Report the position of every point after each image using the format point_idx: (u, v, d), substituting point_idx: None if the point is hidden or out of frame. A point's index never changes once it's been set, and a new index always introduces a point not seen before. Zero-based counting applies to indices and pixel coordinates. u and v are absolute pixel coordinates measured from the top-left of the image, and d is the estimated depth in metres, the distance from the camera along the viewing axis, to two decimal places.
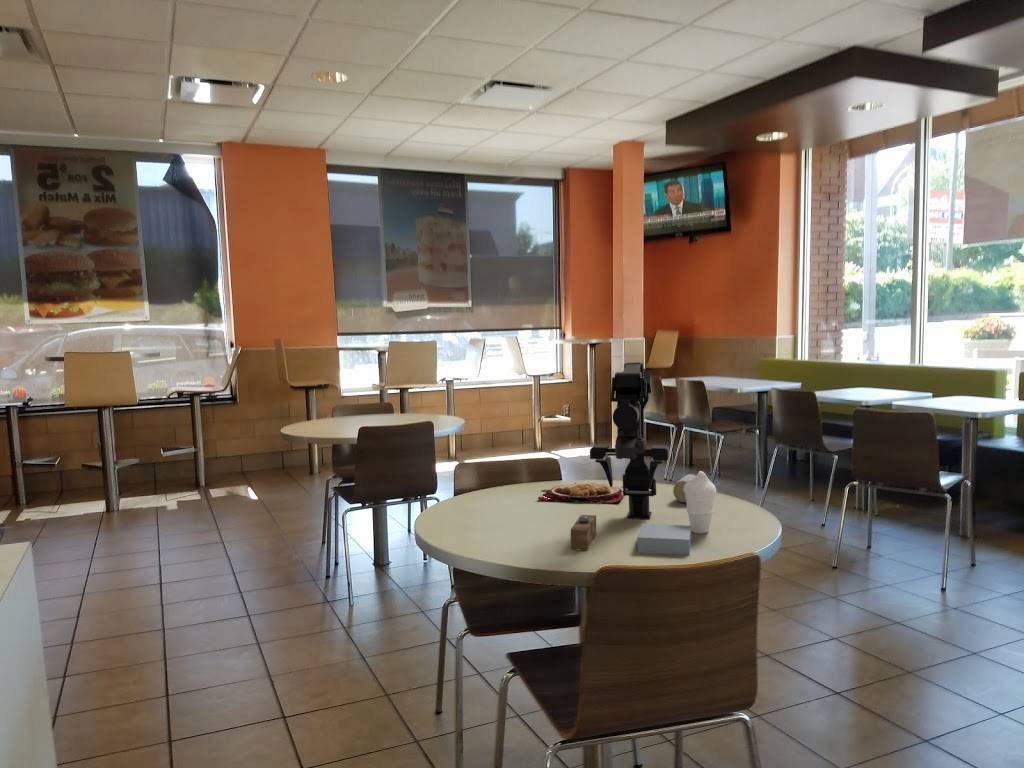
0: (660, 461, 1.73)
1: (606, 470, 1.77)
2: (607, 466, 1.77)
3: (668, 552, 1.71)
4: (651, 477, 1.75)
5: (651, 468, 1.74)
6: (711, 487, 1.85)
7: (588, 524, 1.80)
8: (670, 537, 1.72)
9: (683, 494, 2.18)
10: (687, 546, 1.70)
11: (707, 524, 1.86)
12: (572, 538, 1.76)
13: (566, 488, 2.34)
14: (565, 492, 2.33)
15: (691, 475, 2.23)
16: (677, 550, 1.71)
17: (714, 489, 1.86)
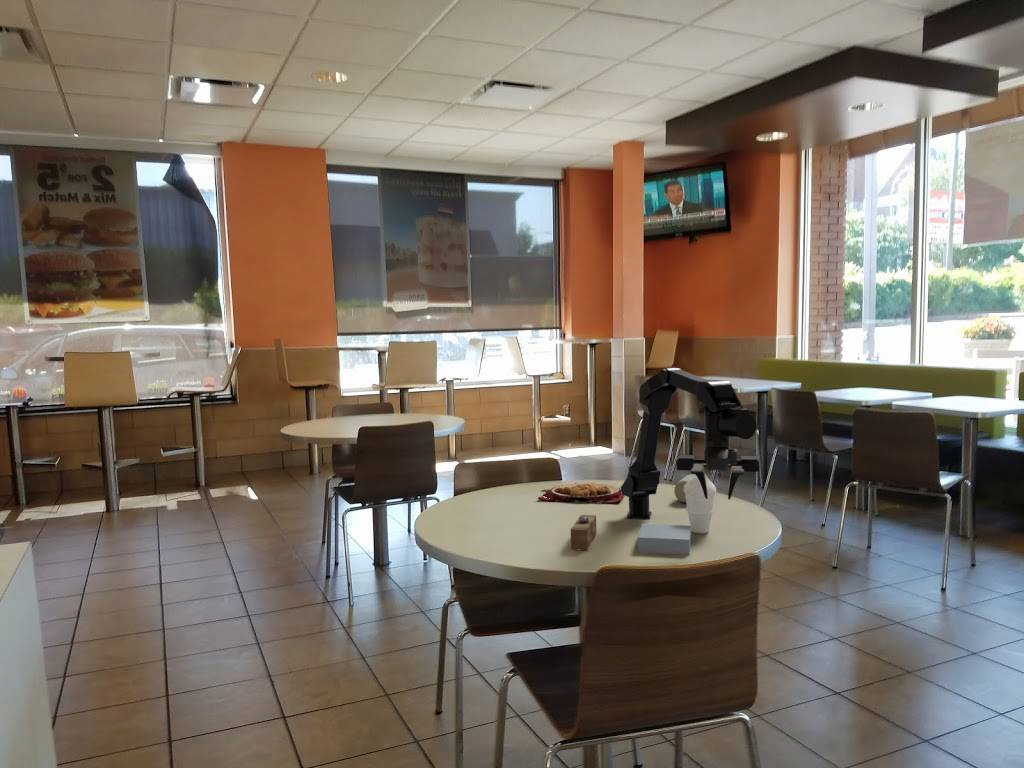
0: (742, 472, 1.69)
1: (702, 482, 1.72)
2: (703, 477, 1.72)
3: (668, 552, 1.71)
4: (732, 488, 1.71)
5: (732, 479, 1.70)
6: (711, 487, 1.85)
7: (588, 524, 1.80)
8: (670, 537, 1.72)
9: (684, 494, 2.18)
10: (687, 546, 1.70)
11: (707, 524, 1.86)
12: (572, 538, 1.76)
13: (566, 488, 2.34)
14: (565, 492, 2.33)
15: (692, 475, 2.23)
16: (677, 550, 1.71)
17: (714, 489, 1.86)
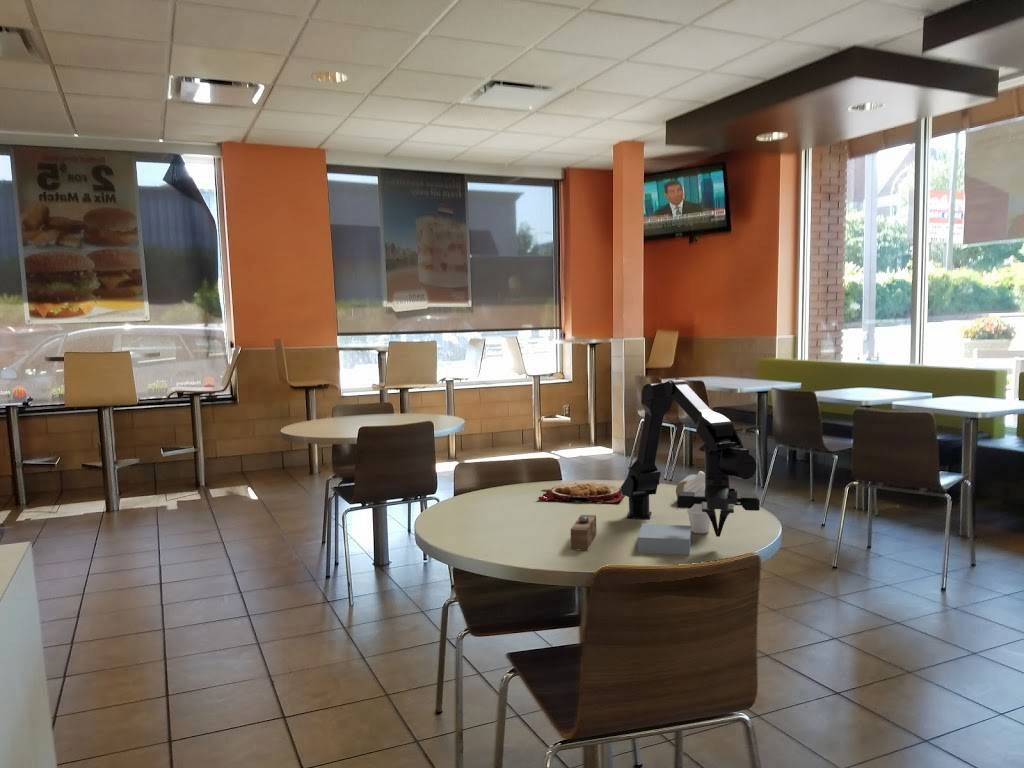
0: (731, 510, 1.70)
1: (712, 520, 1.73)
2: (714, 516, 1.72)
3: (668, 552, 1.71)
4: (721, 526, 1.72)
5: (722, 517, 1.72)
6: None
7: (588, 524, 1.80)
8: (670, 537, 1.72)
9: None
10: (687, 546, 1.70)
11: (707, 524, 1.86)
12: (572, 538, 1.76)
13: (566, 488, 2.34)
14: (565, 492, 2.33)
15: (694, 475, 2.22)
16: (677, 550, 1.71)
17: None
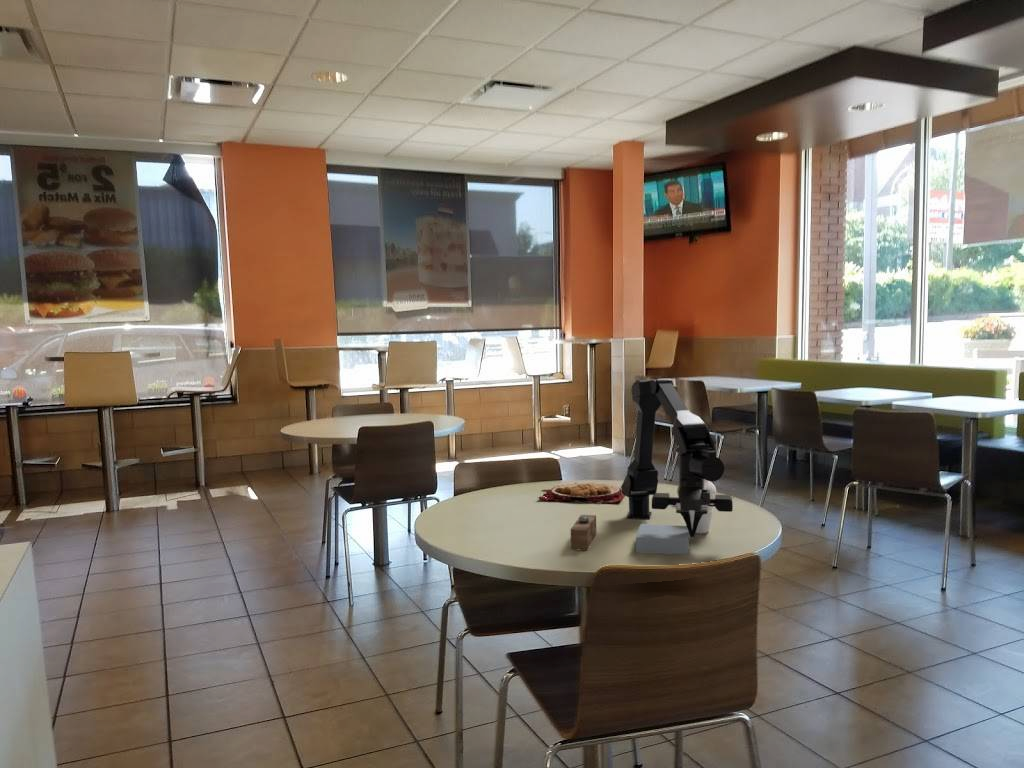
0: (705, 511, 1.72)
1: (687, 520, 1.74)
2: (688, 517, 1.74)
3: (666, 552, 1.71)
4: (695, 527, 1.74)
5: (695, 518, 1.73)
6: (711, 487, 1.85)
7: (588, 524, 1.80)
8: (668, 537, 1.72)
9: None
10: (686, 546, 1.70)
11: (707, 524, 1.86)
12: (572, 538, 1.76)
13: (566, 488, 2.34)
14: (565, 492, 2.33)
15: None
16: (675, 550, 1.71)
17: (714, 489, 1.86)
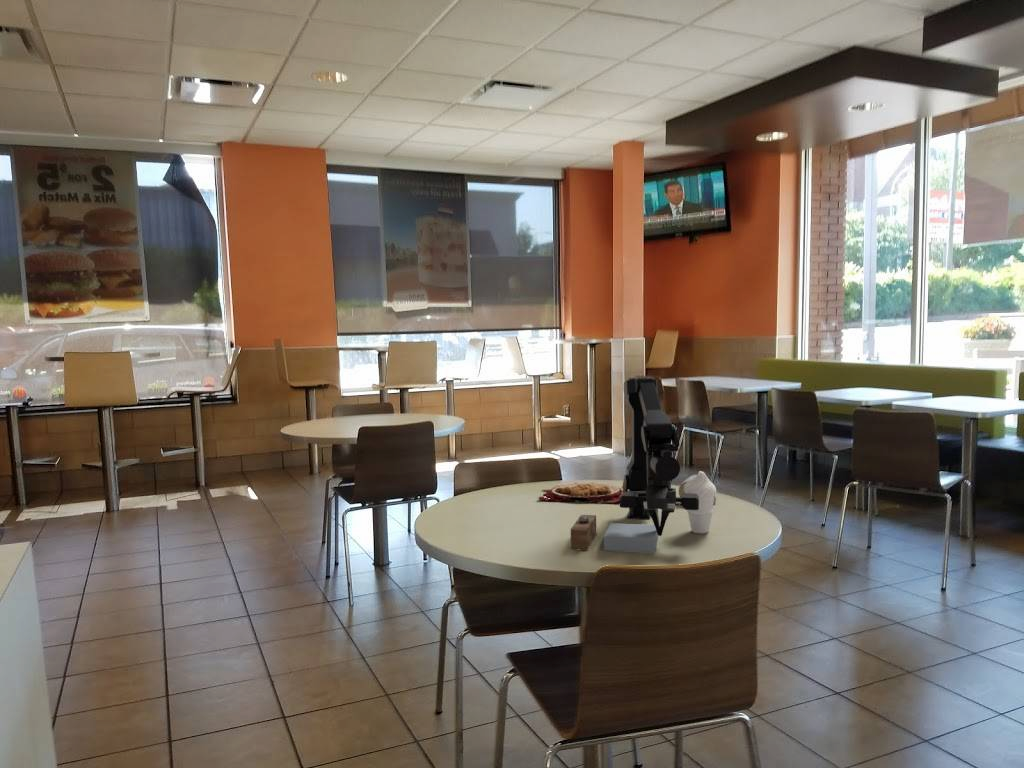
0: (672, 510, 1.74)
1: (654, 519, 1.76)
2: (655, 515, 1.76)
3: (634, 551, 1.73)
4: (663, 525, 1.76)
5: (663, 516, 1.75)
6: (711, 487, 1.85)
7: (588, 524, 1.80)
8: (636, 536, 1.74)
9: None
10: (652, 545, 1.72)
11: (707, 524, 1.86)
12: (572, 538, 1.76)
13: (567, 488, 2.34)
14: (566, 492, 2.33)
15: (696, 475, 2.22)
16: (642, 549, 1.73)
17: (714, 489, 1.86)
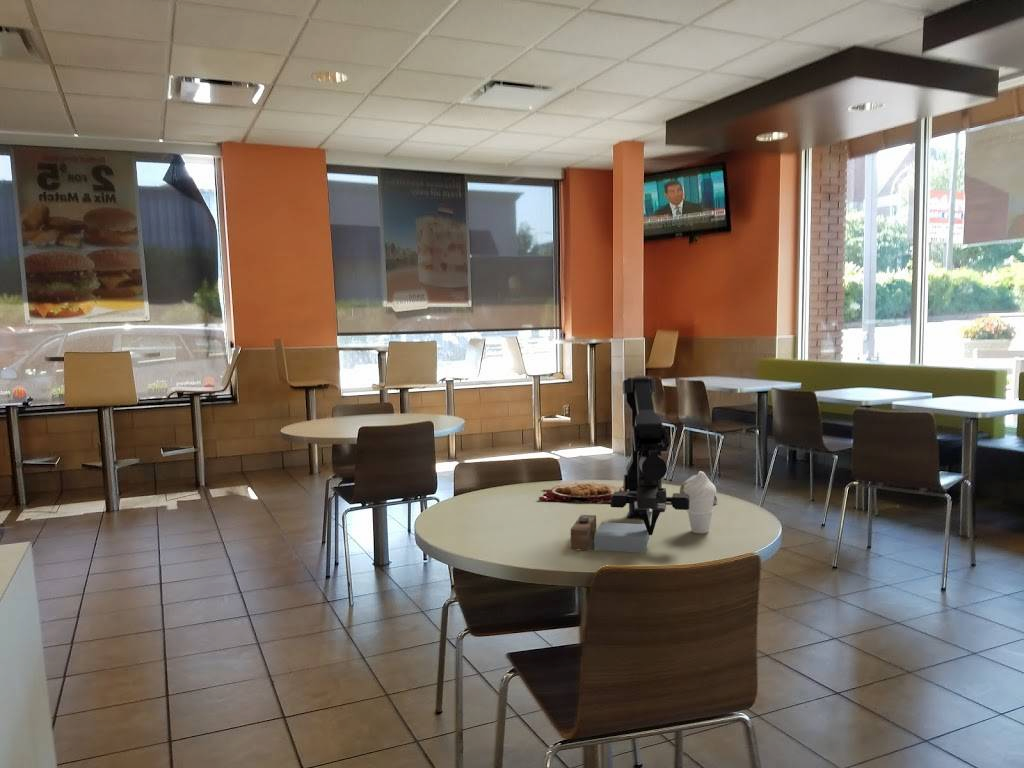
0: (662, 509, 1.75)
1: (645, 519, 1.77)
2: (646, 515, 1.76)
3: (624, 550, 1.74)
4: (653, 525, 1.77)
5: (653, 516, 1.76)
6: (711, 487, 1.85)
7: (588, 524, 1.80)
8: (626, 536, 1.74)
9: None
10: (642, 544, 1.73)
11: (707, 524, 1.86)
12: (572, 538, 1.76)
13: (567, 488, 2.34)
14: (566, 492, 2.33)
15: None
16: (632, 548, 1.73)
17: (714, 489, 1.86)
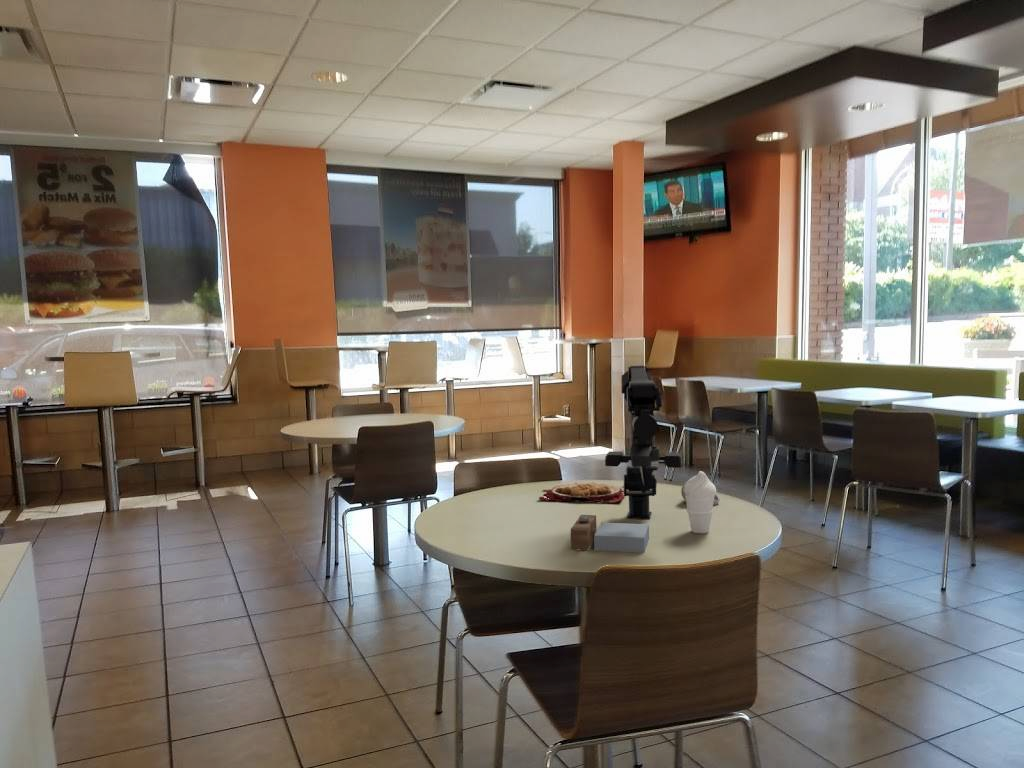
0: (655, 468, 1.80)
1: (638, 477, 1.82)
2: (639, 473, 1.82)
3: (624, 550, 1.74)
4: (646, 483, 1.82)
5: (647, 474, 1.82)
6: (711, 487, 1.85)
7: (588, 524, 1.80)
8: (626, 536, 1.74)
9: None
10: (642, 544, 1.73)
11: (707, 524, 1.86)
12: (572, 538, 1.76)
13: (567, 488, 2.34)
14: (566, 492, 2.33)
15: None
16: (632, 548, 1.73)
17: (714, 489, 1.86)
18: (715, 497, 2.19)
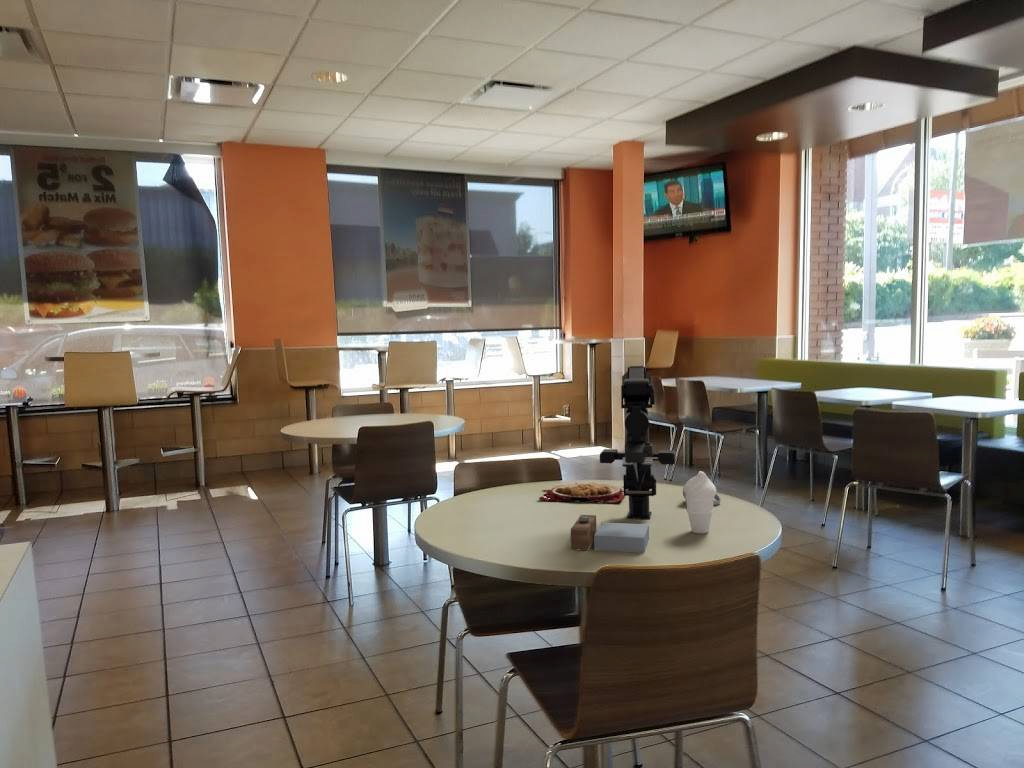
0: (649, 465, 1.82)
1: (633, 474, 1.84)
2: (634, 470, 1.83)
3: (624, 550, 1.74)
4: (641, 480, 1.84)
5: (641, 471, 1.83)
6: (711, 487, 1.85)
7: (588, 524, 1.80)
8: (626, 536, 1.74)
9: None
10: (642, 544, 1.73)
11: (707, 524, 1.86)
12: (572, 538, 1.76)
13: (567, 488, 2.34)
14: (566, 492, 2.33)
15: None
16: (632, 548, 1.73)
17: (714, 489, 1.86)
18: (716, 497, 2.19)
